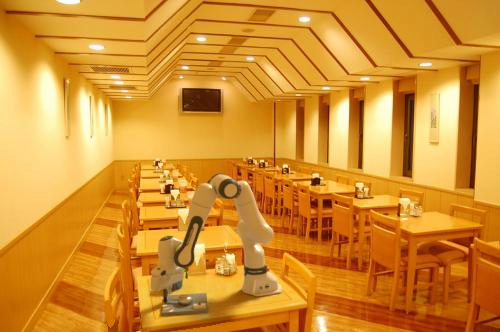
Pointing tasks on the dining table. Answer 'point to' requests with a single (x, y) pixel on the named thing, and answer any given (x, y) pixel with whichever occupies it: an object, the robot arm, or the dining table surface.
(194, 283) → the dining table surface
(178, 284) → the snack cup
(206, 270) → the dining table surface
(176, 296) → the board
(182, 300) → the ladle
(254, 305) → the dining table surface
